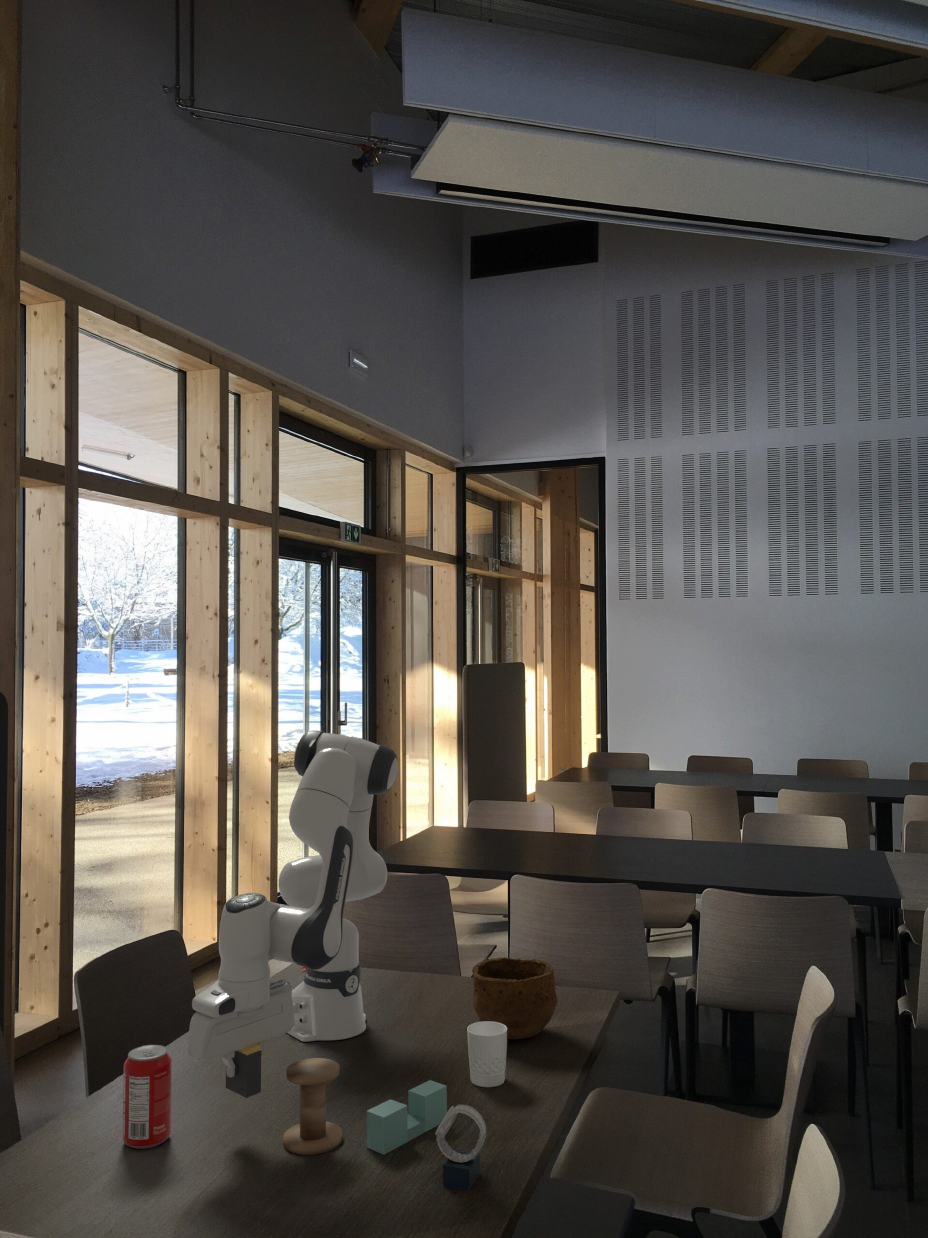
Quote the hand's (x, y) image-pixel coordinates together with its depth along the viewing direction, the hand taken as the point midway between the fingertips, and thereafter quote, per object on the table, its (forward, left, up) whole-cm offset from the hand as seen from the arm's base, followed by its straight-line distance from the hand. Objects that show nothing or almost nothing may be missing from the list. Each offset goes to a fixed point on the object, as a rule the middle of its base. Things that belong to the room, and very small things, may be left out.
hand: (243, 1071), depth 169 cm
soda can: (-11, -12, -11) cm, 19 cm away
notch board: (+22, +18, -11) cm, 31 cm away
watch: (+39, +12, -11) cm, 42 cm away
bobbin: (+11, +6, -11) cm, 17 cm away
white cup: (+19, +44, -11) cm, 49 cm away
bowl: (+9, +66, -11) cm, 68 cm away
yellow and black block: (0, 0, -3) cm, 3 cm away
